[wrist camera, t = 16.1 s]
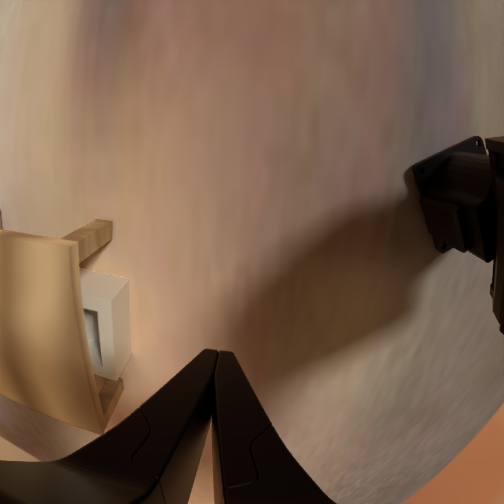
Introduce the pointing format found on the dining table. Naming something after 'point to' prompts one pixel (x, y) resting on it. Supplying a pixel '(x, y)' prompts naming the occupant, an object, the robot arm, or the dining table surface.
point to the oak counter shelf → (51, 327)
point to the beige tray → (107, 320)
